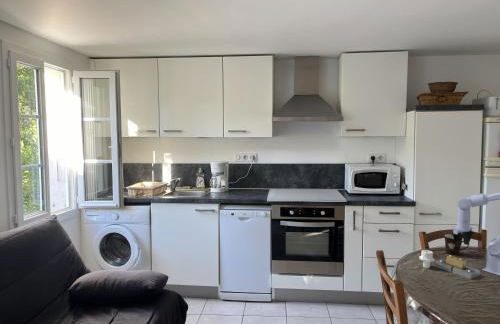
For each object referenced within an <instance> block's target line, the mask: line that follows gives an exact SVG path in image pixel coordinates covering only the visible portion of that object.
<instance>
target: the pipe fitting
mask: <svg viewBox="0 0 500 324" xmlns="http://www.w3.org/2000/svg"><path fill="white" fill-rule="evenodd" d="M433 256H434V252H433V251H431V250H428V249H422V250H421V255H419V257H418V259H419V260H420V261H421V262H422V267H423V268H426V269H429V268H430V267H431V263H432V262H436V259H435V258H434V257H433Z"/></svg>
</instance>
